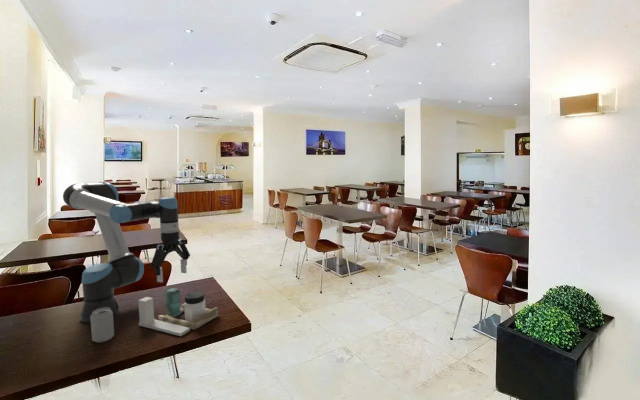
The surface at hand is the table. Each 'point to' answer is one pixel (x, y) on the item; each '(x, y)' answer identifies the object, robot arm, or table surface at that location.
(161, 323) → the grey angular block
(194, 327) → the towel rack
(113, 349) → the table surface
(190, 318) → the jar
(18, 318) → the table surface
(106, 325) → the can
